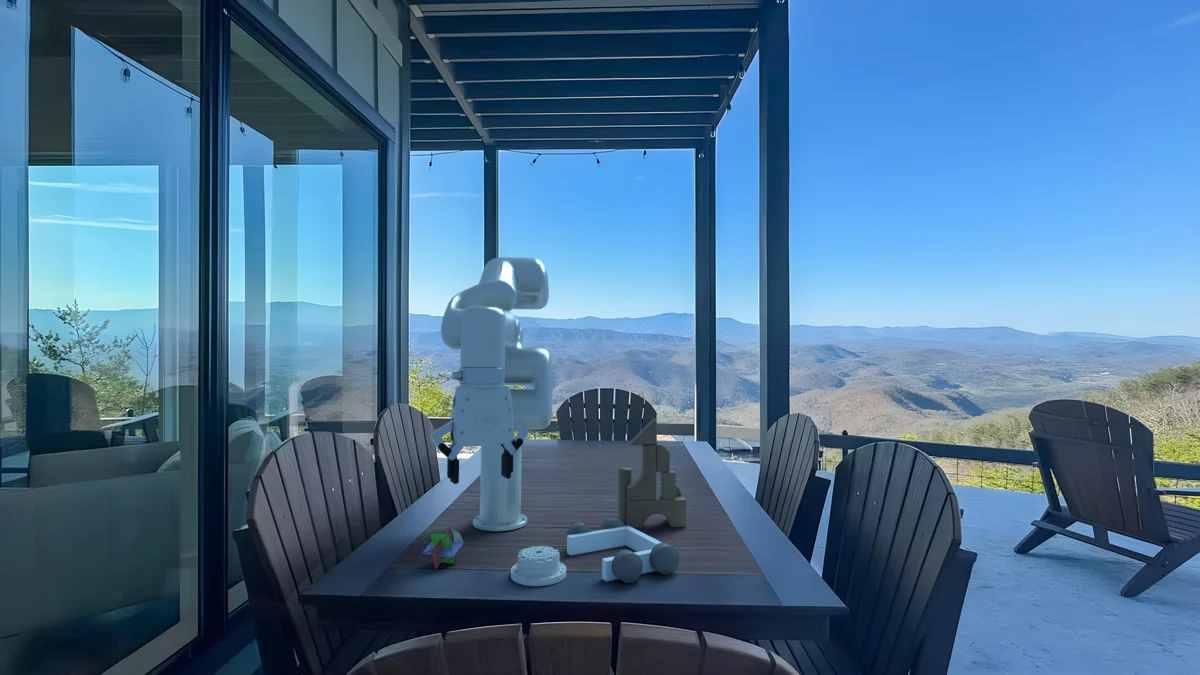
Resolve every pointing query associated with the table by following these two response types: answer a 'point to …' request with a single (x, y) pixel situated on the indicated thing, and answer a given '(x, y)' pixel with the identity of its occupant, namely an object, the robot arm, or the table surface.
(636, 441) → the wooden toy
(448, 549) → the geometric puzzle
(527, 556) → the mechanical component
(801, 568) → the table surface
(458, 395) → the robot arm
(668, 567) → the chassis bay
